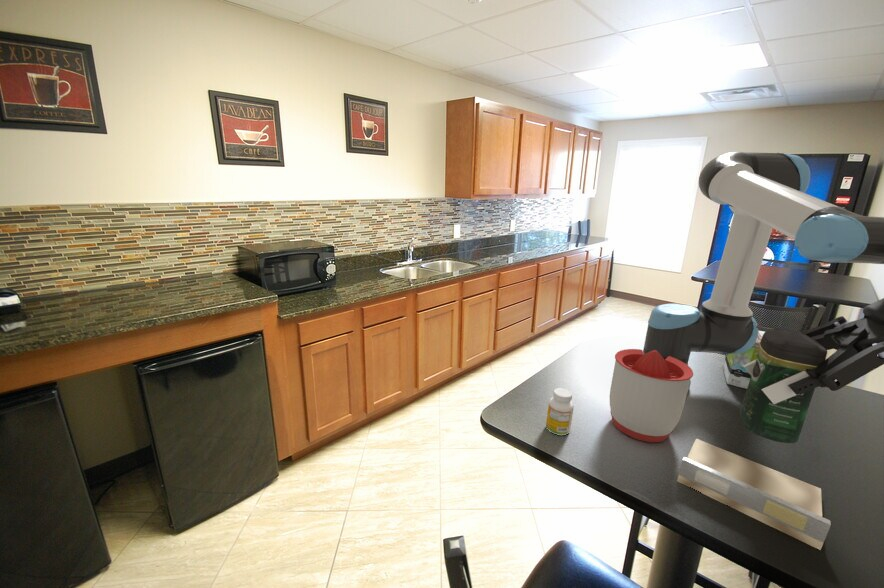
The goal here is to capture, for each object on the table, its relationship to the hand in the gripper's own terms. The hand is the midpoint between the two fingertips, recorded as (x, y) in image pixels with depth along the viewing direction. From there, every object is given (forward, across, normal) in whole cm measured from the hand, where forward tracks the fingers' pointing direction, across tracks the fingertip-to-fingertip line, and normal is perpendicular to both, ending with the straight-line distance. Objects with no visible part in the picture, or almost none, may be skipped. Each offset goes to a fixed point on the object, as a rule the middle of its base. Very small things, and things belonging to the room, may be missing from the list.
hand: (757, 383), depth 67 cm
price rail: (+14, -8, -14) cm, 21 cm away
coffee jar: (+4, 0, -8) cm, 9 cm away
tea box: (+3, +55, -27) cm, 62 cm away
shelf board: (+13, 0, -17) cm, 22 cm away
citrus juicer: (+26, +12, -5) cm, 29 cm away
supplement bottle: (+38, +2, +8) cm, 39 cm away
